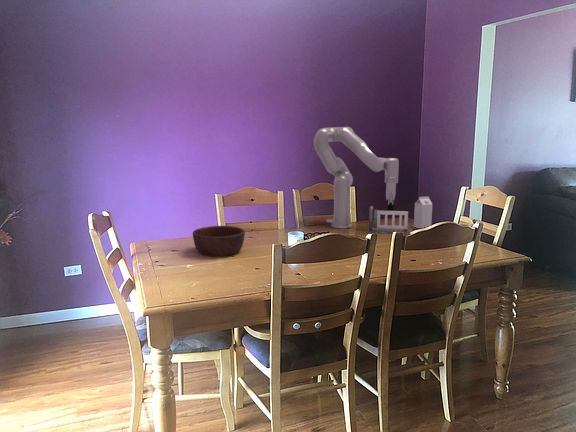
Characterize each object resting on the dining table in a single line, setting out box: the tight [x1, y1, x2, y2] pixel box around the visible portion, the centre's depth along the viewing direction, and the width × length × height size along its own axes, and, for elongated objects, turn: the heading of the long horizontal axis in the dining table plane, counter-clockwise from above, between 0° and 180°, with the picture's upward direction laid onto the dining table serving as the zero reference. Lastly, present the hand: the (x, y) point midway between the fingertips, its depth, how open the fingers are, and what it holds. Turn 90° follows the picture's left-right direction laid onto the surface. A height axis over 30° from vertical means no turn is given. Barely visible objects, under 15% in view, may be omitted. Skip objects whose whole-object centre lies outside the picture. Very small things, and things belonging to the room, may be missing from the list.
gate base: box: [367, 205, 414, 235], centre depth 286 cm, size 25×9×14 cm, turn 79°
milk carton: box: [413, 196, 433, 229], centre depth 293 cm, size 7×7×19 cm
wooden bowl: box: [192, 225, 245, 258], centre depth 245 cm, size 25×25×10 cm
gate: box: [373, 209, 409, 229], centre depth 286 cm, size 19×2×10 cm, turn 79°
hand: (390, 211), depth 291 cm, fingers closed
